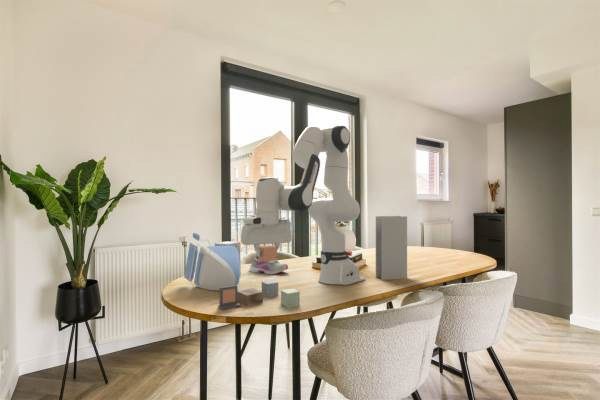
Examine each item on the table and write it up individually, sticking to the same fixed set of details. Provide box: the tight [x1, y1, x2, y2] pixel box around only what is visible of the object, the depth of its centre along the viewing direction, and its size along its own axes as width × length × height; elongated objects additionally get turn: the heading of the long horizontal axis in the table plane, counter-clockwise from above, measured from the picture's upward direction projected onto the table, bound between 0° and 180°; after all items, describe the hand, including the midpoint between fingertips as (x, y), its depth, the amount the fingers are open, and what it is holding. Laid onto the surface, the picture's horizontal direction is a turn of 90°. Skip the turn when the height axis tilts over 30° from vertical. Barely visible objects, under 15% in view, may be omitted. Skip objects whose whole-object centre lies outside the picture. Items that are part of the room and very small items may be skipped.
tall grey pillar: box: [375, 215, 408, 281], centre depth 165 cm, size 14×6×30 cm, turn 108°
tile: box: [217, 285, 241, 311], centre depth 120 cm, size 7×3×7 cm, turn 123°
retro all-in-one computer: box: [183, 232, 242, 291], centre depth 147 cm, size 25×23×17 cm
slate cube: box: [261, 279, 279, 297], centre depth 137 cm, size 5×5×5 cm
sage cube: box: [280, 288, 301, 308], centre depth 123 cm, size 5×5×5 cm
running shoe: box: [248, 254, 289, 276], centre depth 178 cm, size 9×22×10 cm, turn 70°
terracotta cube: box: [258, 245, 277, 261], centre depth 128 cm, size 5×5×5 cm
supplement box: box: [214, 240, 242, 276], centre depth 169 cm, size 10×9×17 cm
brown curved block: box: [237, 288, 264, 307], centre depth 127 cm, size 7×7×4 cm
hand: (266, 255), depth 128 cm, fingers closed on terracotta cube, 5 cm apart
